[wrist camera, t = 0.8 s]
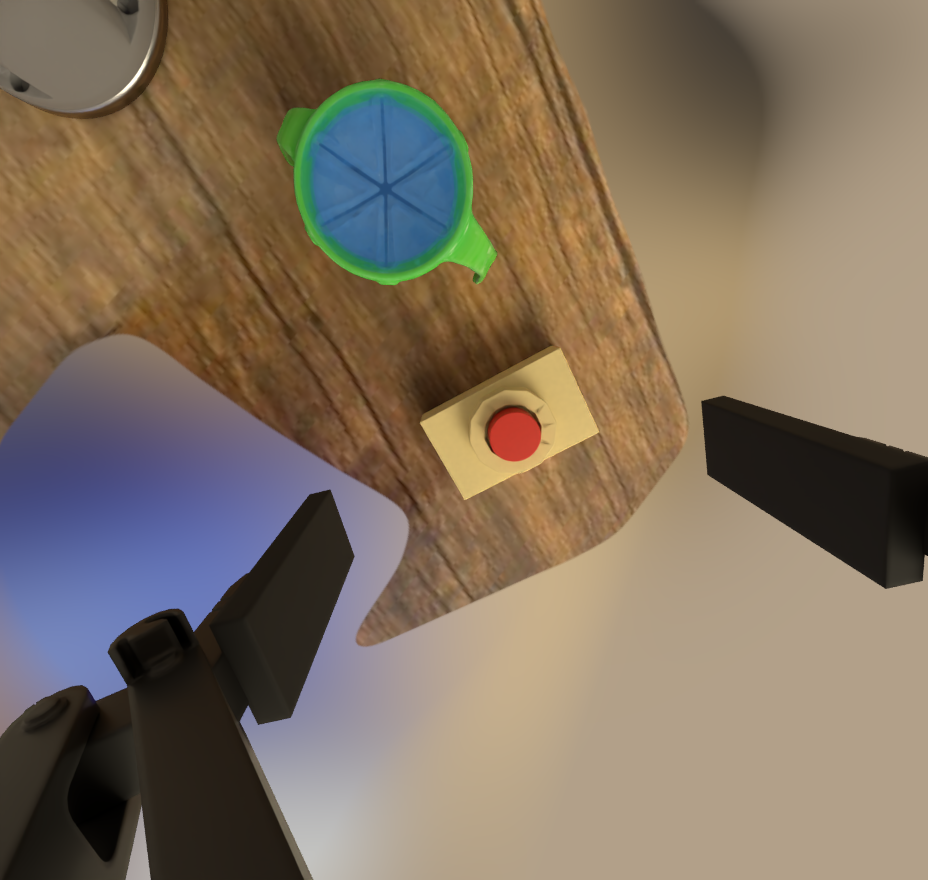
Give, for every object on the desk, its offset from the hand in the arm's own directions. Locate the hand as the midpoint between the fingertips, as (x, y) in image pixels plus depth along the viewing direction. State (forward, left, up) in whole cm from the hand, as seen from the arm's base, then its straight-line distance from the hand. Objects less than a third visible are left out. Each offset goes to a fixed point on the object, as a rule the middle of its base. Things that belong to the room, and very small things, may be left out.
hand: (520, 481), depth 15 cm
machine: (+4, +1, -24) cm, 25 cm away
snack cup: (-14, +1, -25) cm, 29 cm away
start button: (+4, +1, -20) cm, 20 cm away
